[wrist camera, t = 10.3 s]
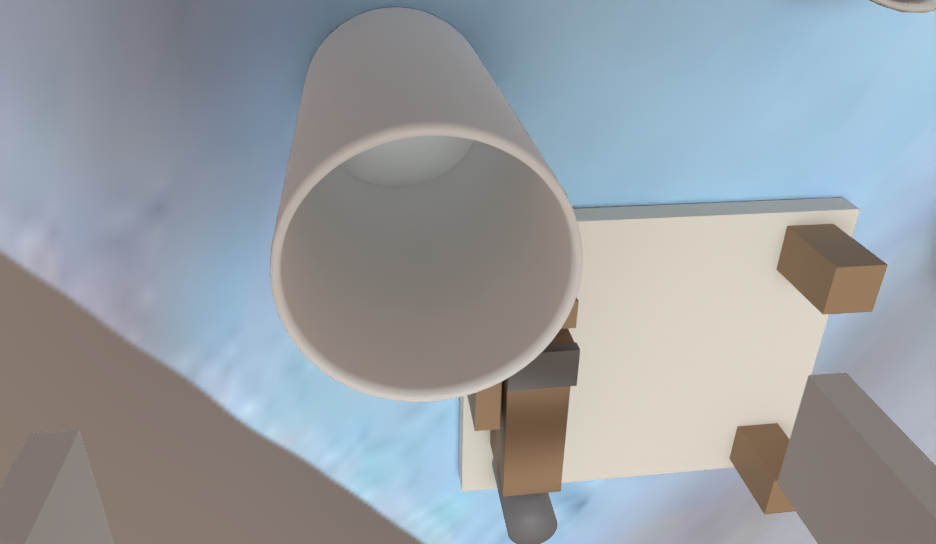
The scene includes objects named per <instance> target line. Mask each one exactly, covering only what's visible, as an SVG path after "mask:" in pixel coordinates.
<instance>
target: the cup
mask: <svg viewBox="0 0 936 544" xmlns="http://www.w3.org/2000/svg"><path fill="white" fill-rule="evenodd" d="M582 268H583V250H582V240H581V235H580V230H579V226H578V223H577V220H576V217H575V214H574V211H573V208H572V206H571V203H570V201H569V199H568V197H567V195H566V193H565V191H564V190H563V188H562V186H561V185H560V183H559V181H558V180H557V178H556V177H555V175H554V174H553V172H552V170H551V169H550V167H549V166H548V164H547V163H546V161H545V159H544V158H543V156H542V155H541V153H540V152H539V150H538V148H537V147H536V145H535V144H534V142H533V141H532V139H531V138H530V136H529V134H528V133H527V131H526V130H525V128H524V127H523V125H522V124H521V122H520V120H519V119H518V117H517V116H516V114H515V113H514V111H513V110H512V108H511V106H510V105H509V103H508V102H507V100H506V99H505V97H504V96H503V94H502V92H501V91H500V89H499V88H498V86H497V85H496V83H495V82H494V80H493V78H492V77H491V75H490V74H489V72H488V71H487V69H486V68H485V66H484V64H483V63H482V61H481V60H480V58H479V57H478V55H477V54H476V52H475V50H474V49H473V47H472V46H471V45H470V43H469V42H468V41H467V40H466V39H465V38H464V36H463V35H462V34H461V33H460V32H458V31H457V30H456V29H455V28H454V27H452V26H451V25H450V24H448V23H447V22H445V21H443V20H442V19H440V18H438V17H436V16H434V15H432V14H429V13H426V12H423V11H420V10H416V9H411V8H403V7H389V8H380V9H375V10H371V11H368V12H364V13H362V14H359V15H357V16H355V17H353V18H351V19H349V20H347V21H346V22H344V23H343V24H341V25H340V26H338V27H337V28H336V29H335V30H334V31H333V32H331V33H330V35H329V36H328V37H327V38H326V39H325V40H324V41H323V42H322V44H321V45H320V46H319V48H318V50H317V51H316V53H315V54H314V56H313V58H312V60H311V63H310V65H309V68H308V71H307V74H306V78H305V83H304V88H303V92H302V97H301V102H300V107H299V112H298V117H297V122H296V127H295V132H294V137H293V142H292V147H291V151H290V156H289V161H288V166H287V171H286V176H285V181H284V186H283V191H282V196H281V201H280V206H279V211H278V216H277V221H276V226H275V231H274V236H273V241H272V249H271V263H270V272H271V284H272V292H273V297H274V301H275V305H276V308H277V311H278V314H279V317H280V319H281V321H282V323H283V325H284V327H285V329H286V331H287V332H288V334H289V336H290V337H291V339H292V341H293V342H294V343H295V344H296V346H297V347H298V348H299V350H300V351H301V352H302V353H303V354H304V355H305V356H306V357H307V358H308V359H309V360H310V361H311V362H312V363H313V364H314V365H315V366H317V367H318V368H319V369H320V370H322V371H323V372H324V373H326V374H327V375H329V376H330V377H332V378H333V379H335V380H337V381H339V382H340V383H342V384H344V385H346V386H348V387H350V388H353V389H355V390H358V391H360V392H363V393H366V394H369V395H373V396H376V397H380V398H385V399H391V400H397V401H407V402H429V401H441V400H448V399H453V398H458V397H463V396H466V395H470V394H473V393H476V392H479V391H482V390H484V389H487V388H489V387H491V386H494V385H496V384H498V383H500V382H502V381H504V380H505V379H507V378H509V377H511V376H512V375H514V374H515V373H517V372H518V371H520V370H521V369H523V368H524V367H525V366H527V365H528V364H529V363H530V362H532V361H533V360H534V359H535V358H536V357H537V356H538V355H539V354H540V353H541V352H542V351H543V350H545V348H546V347H547V346H548V345H549V344H550V343H551V341H552V340H553V339H554V338H555V336H556V335H557V334H558V332H559V331H560V329H561V328H562V326H563V325H564V323H565V321H566V319H567V318H568V316H569V314H570V312H571V309H572V307H573V305H574V302H575V299H576V297H577V294H578V290H579V286H580V282H581V275H582Z"/></svg>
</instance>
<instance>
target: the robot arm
mask: <svg viewBox="0 0 936 544" xmlns="http://www.w3.org/2000/svg"><path fill="white" fill-rule="evenodd" d="M777 484H778V486H779V487H780V489H781V490H782V492H783V493H784V495H785V496H786V498H787V499H788V500H789V502H790V503H791V505H792V506H793V508H794V509H795V511H796V512H797V514H798V515H799V517H800V518H801V520H802V521H803V522H804V524H805V525H806V527H807V528H808V530H809V531H810V533H811V534H812V536H813V537H814V539H815V540H816V542H817V543H818V544H936V466H935V465H934V463H933V462H932V461H931V460H930V459H929V458H928V457H927V456H926V455H925V454H924V453H923V452H922V451H921V450H920V449H919V448H918V447H917V446H916V445H915V444H914V443H913V442H912V441H911V440H910V439H909V437H908V436H907V435H906V434H905V433H904V432H903V431H902V430H901V429H900V428H899V427H898V426H897V425H896V424H895V423H894V422H893V421H892V420H891V419H890V418H889V417H888V416H887V415H886V414H885V413H884V412H883V410H882V409H881V408H880V407H879V406H878V405H877V404H876V403H875V402H874V401H873V400H872V399H871V398H870V397H869V396H868V395H867V394H866V393H865V392H864V391H863V390H862V389H861V388H860V387H859V386H858V385H857V383H856V382H855V381H854V380H853V379H852V378H851V377H850V376H849V375H848V374H847V373H834V374H821V375H808V379H807V382H806V386H805V389H804V392H803V396H802V399H801V403H800V406H799V409H798V413H797V416H796V420H795V423H794V426H793V430H792V433H791V437H790V440H789V443H788V447H787V450H786V454H785V457H784V460H783V464H782V467H781V471H780V474H779V477H778V481H777ZM0 544H114V542H113V539H112V535H111V532H110V529H109V526H108V522H107V519H106V516H105V512H104V509H103V506H102V503H101V499H100V496H99V493H98V490H97V486H96V483H95V480H94V476H93V473H92V470H91V466H90V463H89V460H88V456H87V453H86V450H85V447H84V444H83V440H82V437H81V433H80V430H66V431H52V432H39V433H30V435H29V436H28V438H27V440H26V442H25V444H24V445H23V447H22V449H21V451H20V452H19V455H18V456H17V458H16V460H15V462H14V463H13V465H12V467H11V469H10V470H9V472H8V474H7V476H6V478H5V480H4V481H3V483H2V485H1V487H0Z"/></svg>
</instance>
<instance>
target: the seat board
mask: <svg viewBox="0 0 936 544" xmlns="http://www.w3.org/2000/svg"><path fill="white" fill-rule="evenodd" d="M573 211H574V214H575V217H576V220H577V223H578V226H579V230H580V235H581V240H582V250H583V268H582V275H581V282H580V286H579V290H578V294H577V297H576V299H575V302H574V305H573V307H572V309H571V312H570V314H569V316H568V318H567V319H566V321H565V323H564V325H563V326H562V328H561V329H566V328H568V329H569V332H570V334H571V336H572V338H573V340H574V342H577V344H578V346H579V348H580V358H579V368H578V378H577V386H570V396H569V407H568V418H567V428H566V439H565V449H564V460H563V471H562V481H561V483H564V482H575V481H586V480H597V479H608V478H620V477H631V476H642V475H653V474H664V473H675V472H686V471H698V470H709V469H720V468H731V467H735V468H736V470H737V471H738V473H739V474H740V476H741V478H742V479H743V481H744V482H745V484H746V486H747V487H748V489H749V490H750V492H751V493H752V495H753V497H754V498H755V500H756V501H757V503H758V505H759V506H760V508H761V509H762V511H763V513H764V514H772V513H782V512H792V511H795V509H794V508H793V506H792V505H791V503H790V502H789V500H788V499H787V498H786V496H785V495H784V493H783V492H782V490H781V489H780V487H779V486H778V484H777V481H778V477H779V474H780V471H781V467H782V464H783V460H784V457H785V454H786V450H787V447H788V443H789V440H790V437H791V433H792V430H793V426H794V423H795V420H796V416H797V413H798V409H799V406H800V403H801V399H802V396H803V392H804V389H805V386H806V382H807V379H808V375H811V373H812V370H813V366H814V363H815V360H816V356H817V353H818V350H819V346H820V343H821V339H822V336H823V333H824V329H825V326H826V323H827V319H828V316H829V314H840V313H856V312H871V311H873V307H874V304H875V301H876V298H877V295H878V292H879V289H880V286H881V283H882V280H883V277H884V274H885V271H886V268H887V264H886V263H884V262H883V261H882V260H881V259H879V258H878V257H877V256H875V255H874V254H873V253H871V252H870V251H869V250H867V249H866V248H865V247H863V246H862V245H861V244H859V243H858V242H857V241H855V240H854V239H853V238H852V235H853V232H854V228H855V225H856V221H857V218H858V215H859V211H860V209H859V208H858V207H856V206H855V205H853V204H852V203H851V202H849V201H848V200H846V199H845V198H843V197H840V198H816V199H792V200H768V201H744V202H720V203H696V204H672V205H648V206H624V207H600V208H576V209H573ZM501 388H502V382H500V383H498V384H496V385H494V386H491V387H489V388H487V389H484V390H482V391H479V392H476V393H473V394H470V395H466V396H463V397H460V420H459V478H460V483H461V489H462V492H464V491H475V490H486V489H498V493H499V497H500V502H501V506H502V510H503V514H504V519H505V523H506V527H507V532H508V536H509V538H510V539H511V540H512V541H513V542H514V543H516V544H540V543H543V542H545V541H546V540H548V539H549V538H550V537H551V536H552V535H553V534H554V533H555V531H556V529H557V520H556V517H555V514H554V510H553V507H552V504H551V501H550V498H549V494H548V492H547V493H537V494H527V495H516V496H506V497H503V495H502V491H501V487H500V482H499V478H498V474H497V470H496V466H495V461H494V457H493V453H492V449H491V445H490V431H491V430H496V429H500V408H501Z"/></svg>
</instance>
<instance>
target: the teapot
mask: <svg viewBox="0 0 936 544" xmlns="http://www.w3.org/2000/svg"><path fill="white" fill-rule="evenodd" d="M870 1H872V2H874V3H876V4H879V5H881V6H884V7H887V8H890V9H894V10H897V11H900V12H917V13H924V12H929V11H934V10H935V9H936V0H870Z"/></svg>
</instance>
